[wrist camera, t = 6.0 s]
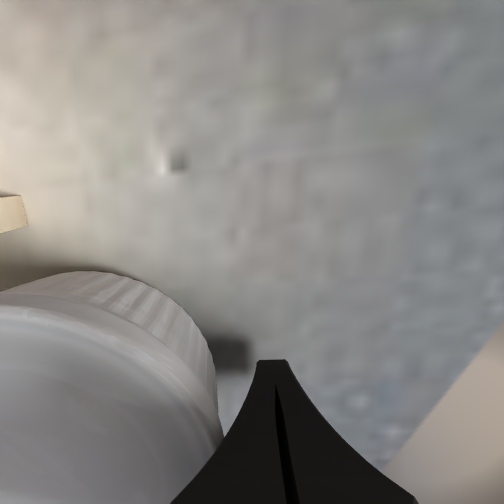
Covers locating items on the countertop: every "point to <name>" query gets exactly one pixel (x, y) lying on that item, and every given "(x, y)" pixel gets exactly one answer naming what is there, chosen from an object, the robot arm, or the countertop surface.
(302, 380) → the countertop surface
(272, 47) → the countertop surface
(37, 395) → the ramekin
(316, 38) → the countertop surface
